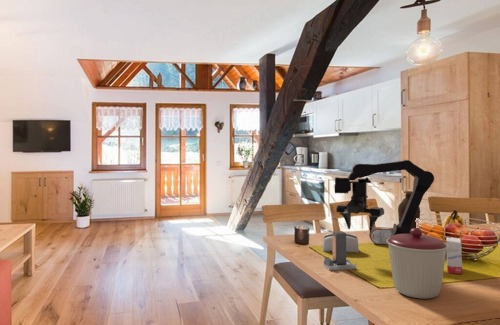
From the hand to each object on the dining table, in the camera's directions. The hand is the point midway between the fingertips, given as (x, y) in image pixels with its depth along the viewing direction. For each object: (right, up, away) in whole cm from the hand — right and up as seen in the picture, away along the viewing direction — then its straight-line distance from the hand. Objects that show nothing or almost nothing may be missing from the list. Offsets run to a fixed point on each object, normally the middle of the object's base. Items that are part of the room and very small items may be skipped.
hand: (359, 230), depth 144 cm
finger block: (-10, -12, -7) cm, 18 cm away
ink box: (+32, -13, -13) cm, 37 cm away
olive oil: (+38, -12, +37) cm, 55 cm away
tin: (+21, -12, +26) cm, 36 cm away
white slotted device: (-4, -13, +15) cm, 21 cm away
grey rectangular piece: (-10, -13, -7) cm, 18 cm away
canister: (+8, -14, -33) cm, 37 cm away
